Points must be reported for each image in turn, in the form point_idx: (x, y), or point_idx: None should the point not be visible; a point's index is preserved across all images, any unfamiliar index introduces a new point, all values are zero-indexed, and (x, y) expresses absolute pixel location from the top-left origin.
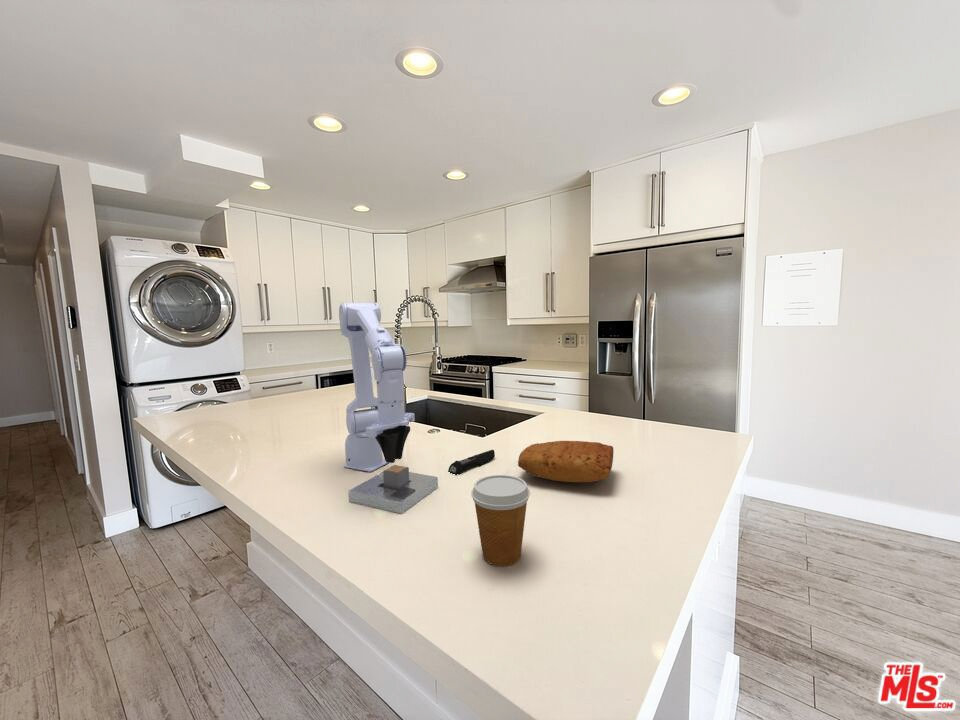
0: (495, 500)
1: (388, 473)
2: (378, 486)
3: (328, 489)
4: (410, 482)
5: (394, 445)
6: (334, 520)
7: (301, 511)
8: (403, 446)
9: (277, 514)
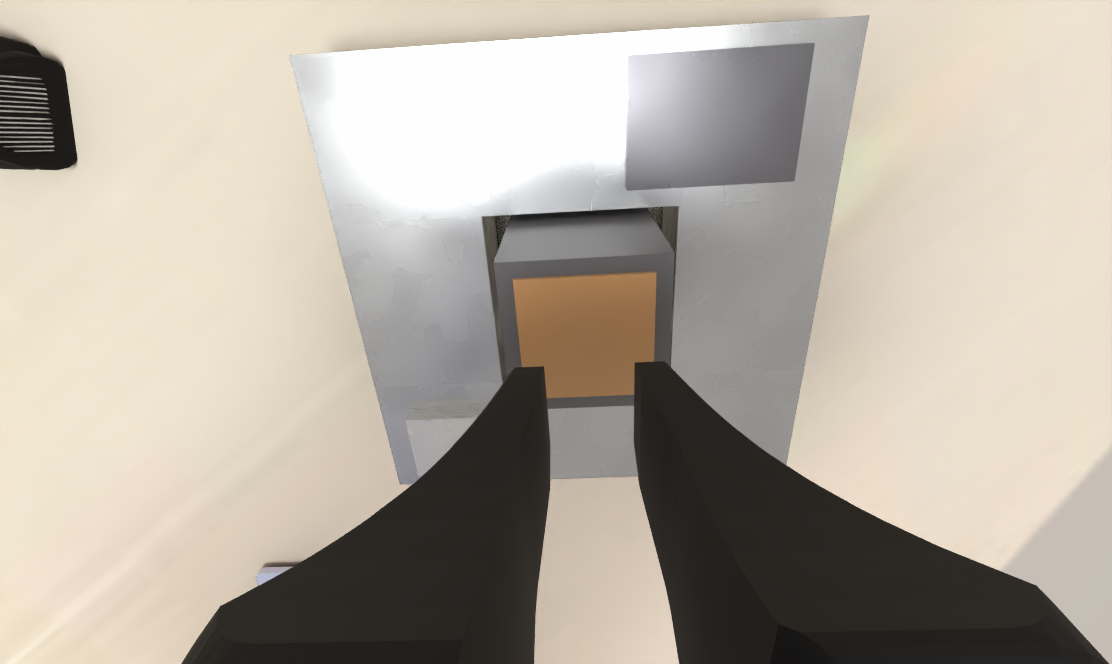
0: None
1: (667, 346)
2: None
3: None
4: (511, 206)
5: (740, 475)
6: (975, 348)
7: (909, 529)
8: (477, 434)
9: None
